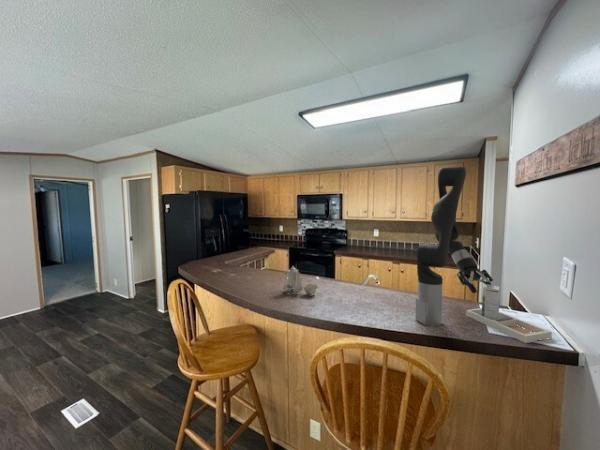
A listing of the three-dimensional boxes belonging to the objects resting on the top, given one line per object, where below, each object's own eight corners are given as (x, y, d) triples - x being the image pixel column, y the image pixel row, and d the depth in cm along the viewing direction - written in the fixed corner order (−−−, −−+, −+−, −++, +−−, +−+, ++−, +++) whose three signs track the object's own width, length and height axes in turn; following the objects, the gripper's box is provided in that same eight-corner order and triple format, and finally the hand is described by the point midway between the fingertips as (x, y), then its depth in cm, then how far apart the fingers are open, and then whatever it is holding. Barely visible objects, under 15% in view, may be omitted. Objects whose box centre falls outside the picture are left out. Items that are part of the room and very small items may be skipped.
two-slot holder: (525, 343, 90) (525, 335, 90) (465, 315, 114) (466, 309, 113) (551, 338, 93) (551, 331, 93) (488, 312, 116) (488, 306, 116)
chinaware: (323, 298, 143) (325, 269, 143) (298, 301, 134) (301, 270, 134) (295, 286, 166) (297, 261, 166) (273, 288, 157) (275, 262, 157)
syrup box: (482, 315, 113) (483, 283, 112) (499, 319, 109) (500, 286, 108) (481, 320, 109) (482, 287, 108) (498, 323, 105) (499, 289, 104)
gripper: (454, 257, 118) (474, 289, 108) (481, 256, 121) (503, 286, 110) (446, 266, 124) (464, 296, 113) (472, 264, 126) (492, 294, 115)
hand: (483, 291), depth 112 cm, fingers open, 8 cm apart
